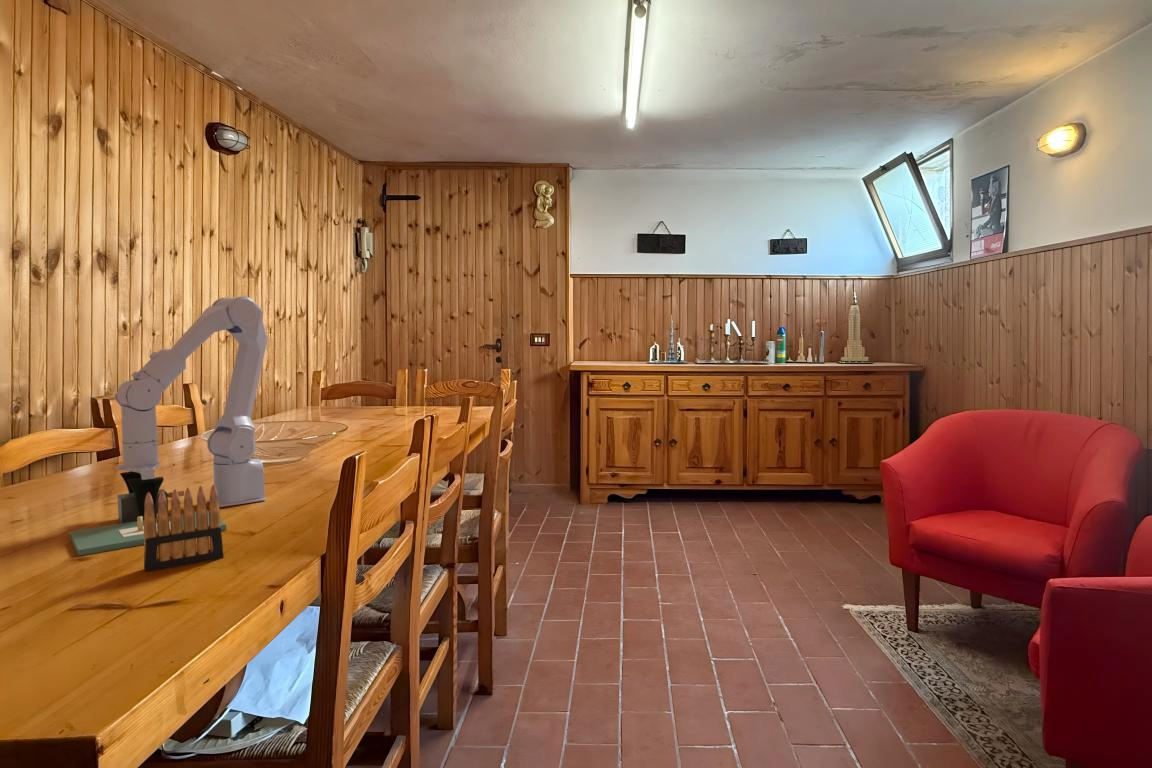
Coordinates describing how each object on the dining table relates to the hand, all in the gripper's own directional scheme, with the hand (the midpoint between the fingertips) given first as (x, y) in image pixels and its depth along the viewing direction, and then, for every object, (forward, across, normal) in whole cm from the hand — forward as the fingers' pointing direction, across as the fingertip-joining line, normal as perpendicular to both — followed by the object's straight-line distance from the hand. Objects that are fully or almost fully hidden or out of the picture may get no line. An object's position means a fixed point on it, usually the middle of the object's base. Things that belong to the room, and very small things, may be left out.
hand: (143, 510), depth 130 cm
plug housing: (+2, 0, +2) cm, 2 cm away
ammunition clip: (+2, +34, 0) cm, 34 cm away
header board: (+2, +12, -1) cm, 12 cm away
